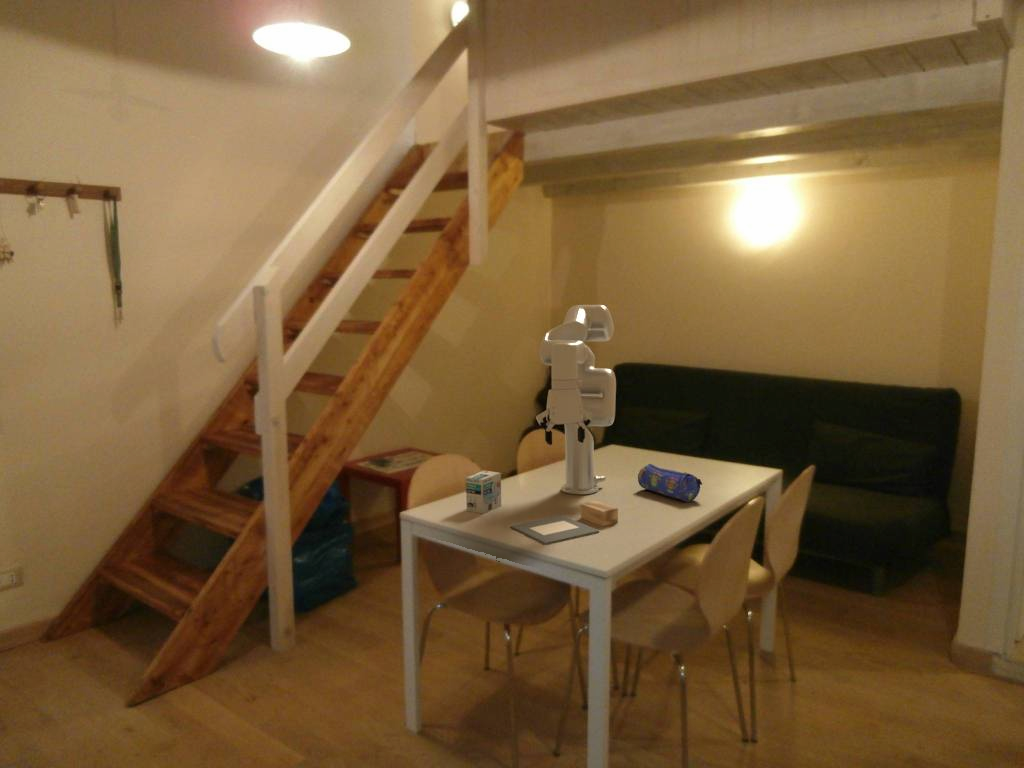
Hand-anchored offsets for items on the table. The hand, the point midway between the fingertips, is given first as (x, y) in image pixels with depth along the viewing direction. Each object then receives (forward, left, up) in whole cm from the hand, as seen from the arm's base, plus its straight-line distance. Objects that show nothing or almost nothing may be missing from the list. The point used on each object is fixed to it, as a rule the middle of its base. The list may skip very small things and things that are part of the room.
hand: (565, 443), depth 218 cm
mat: (+9, +7, -23) cm, 25 cm away
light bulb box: (+15, -23, -23) cm, 36 cm away
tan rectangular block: (-7, +7, -23) cm, 25 cm away
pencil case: (-42, -1, -23) cm, 48 cm away
